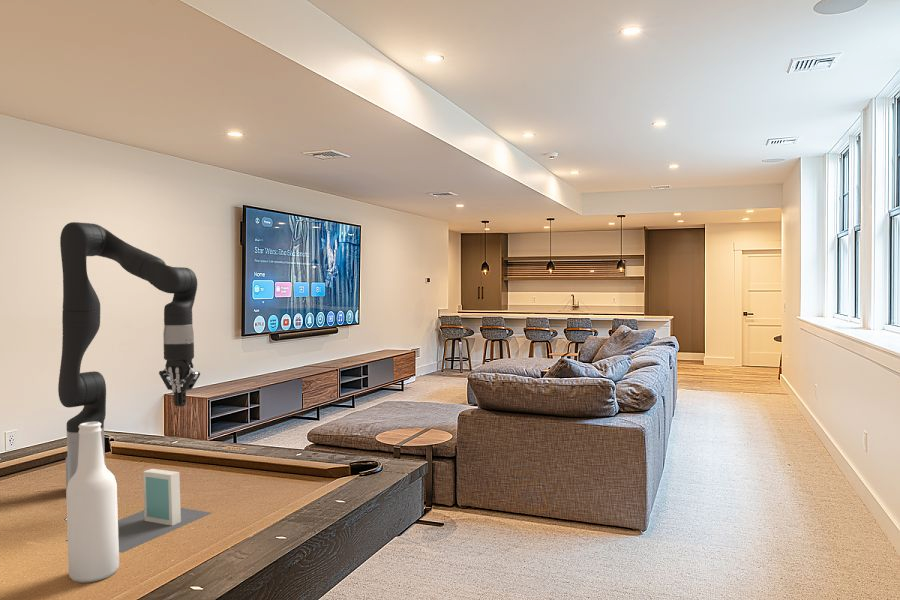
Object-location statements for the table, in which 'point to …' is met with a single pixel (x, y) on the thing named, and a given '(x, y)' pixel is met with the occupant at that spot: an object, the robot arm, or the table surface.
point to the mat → (149, 528)
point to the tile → (162, 496)
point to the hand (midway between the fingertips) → (180, 406)
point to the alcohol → (92, 512)
